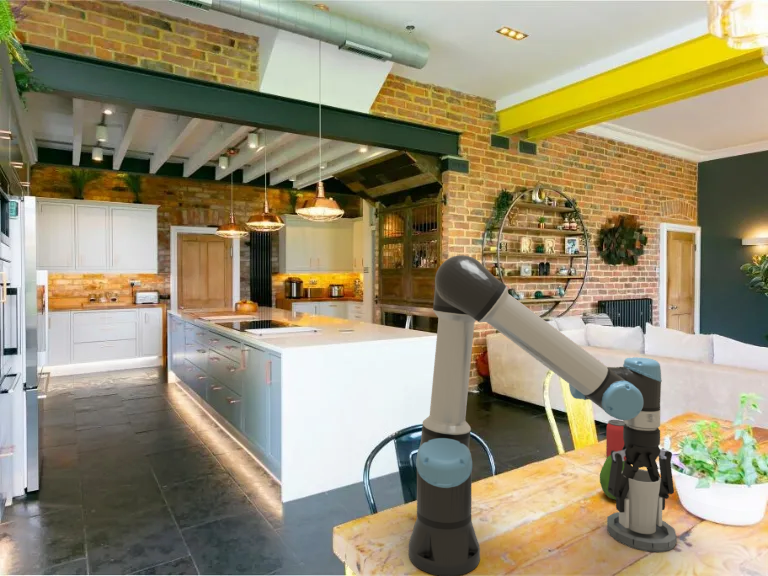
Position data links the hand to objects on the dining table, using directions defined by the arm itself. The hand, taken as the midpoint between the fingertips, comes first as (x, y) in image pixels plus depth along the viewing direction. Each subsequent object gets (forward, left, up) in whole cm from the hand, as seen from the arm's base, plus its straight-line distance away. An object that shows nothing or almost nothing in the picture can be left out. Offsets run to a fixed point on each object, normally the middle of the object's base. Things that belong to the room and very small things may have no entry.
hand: (640, 524), depth 113 cm
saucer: (0, 0, -3) cm, 3 cm away
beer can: (+22, +45, -3) cm, 50 cm away
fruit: (+5, +18, -3) cm, 19 cm away
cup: (0, 0, -1) cm, 1 cm away
